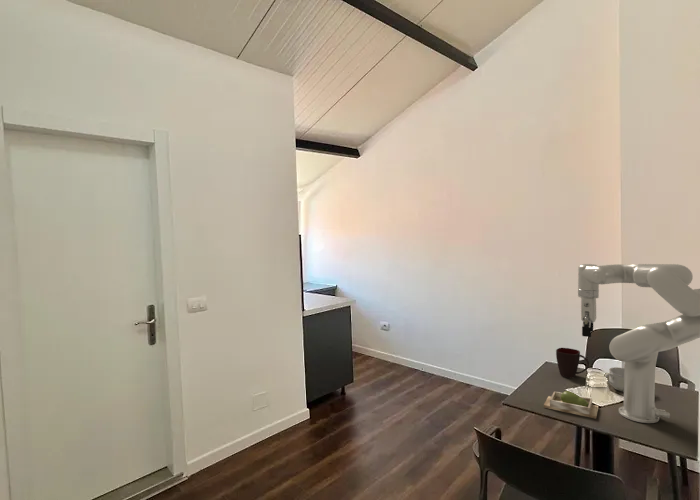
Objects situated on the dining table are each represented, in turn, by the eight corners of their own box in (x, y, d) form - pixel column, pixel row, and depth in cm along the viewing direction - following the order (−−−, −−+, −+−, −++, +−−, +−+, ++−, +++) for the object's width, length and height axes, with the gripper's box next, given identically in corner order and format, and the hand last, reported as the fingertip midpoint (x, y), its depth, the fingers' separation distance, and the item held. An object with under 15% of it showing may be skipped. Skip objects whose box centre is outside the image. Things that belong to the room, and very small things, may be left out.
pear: (565, 387, 168) (592, 398, 161) (563, 399, 169) (589, 411, 162) (559, 390, 165) (586, 402, 157) (557, 402, 166) (583, 415, 158)
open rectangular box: (598, 408, 163) (598, 399, 163) (596, 418, 155) (596, 409, 155) (548, 398, 174) (548, 390, 174) (543, 407, 165) (543, 398, 165)
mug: (559, 370, 206) (559, 346, 205) (591, 376, 197) (591, 352, 196) (553, 376, 199) (553, 351, 198) (586, 383, 189) (586, 357, 189)
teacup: (629, 384, 186) (629, 367, 186) (643, 394, 175) (644, 376, 175) (596, 384, 188) (596, 366, 187) (609, 394, 177) (609, 375, 176)
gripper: (596, 297, 165) (596, 339, 166) (600, 291, 179) (599, 330, 180) (575, 296, 169) (575, 337, 170) (580, 290, 183) (580, 328, 184)
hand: (587, 333), depth 175 cm, fingers open, 9 cm apart
